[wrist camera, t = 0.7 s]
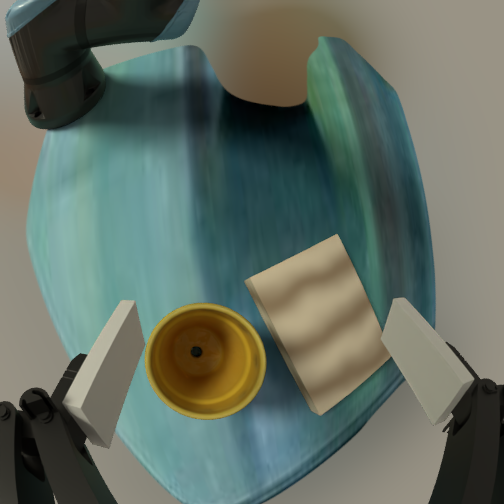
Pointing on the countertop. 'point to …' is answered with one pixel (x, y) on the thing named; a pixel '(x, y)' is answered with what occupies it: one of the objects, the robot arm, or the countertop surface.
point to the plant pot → (205, 361)
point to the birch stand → (320, 322)
